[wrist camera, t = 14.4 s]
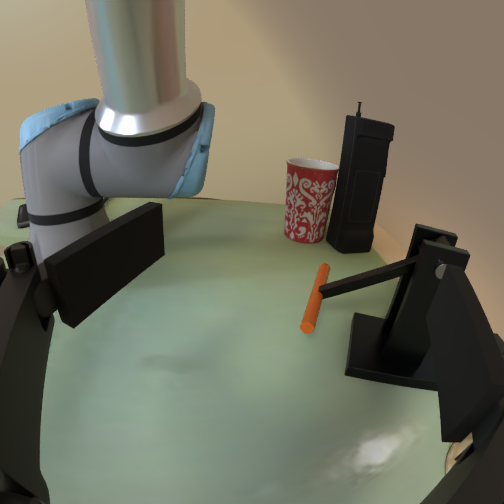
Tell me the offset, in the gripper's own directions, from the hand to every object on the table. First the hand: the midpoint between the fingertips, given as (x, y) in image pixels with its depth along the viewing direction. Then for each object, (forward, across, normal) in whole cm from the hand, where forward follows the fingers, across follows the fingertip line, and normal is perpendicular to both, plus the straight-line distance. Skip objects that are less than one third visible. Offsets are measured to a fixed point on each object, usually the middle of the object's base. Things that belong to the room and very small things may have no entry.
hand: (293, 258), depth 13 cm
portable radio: (+40, +4, -16) cm, 44 cm away
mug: (+42, -4, -16) cm, 45 cm away
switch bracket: (+14, +11, -16) cm, 24 cm away
